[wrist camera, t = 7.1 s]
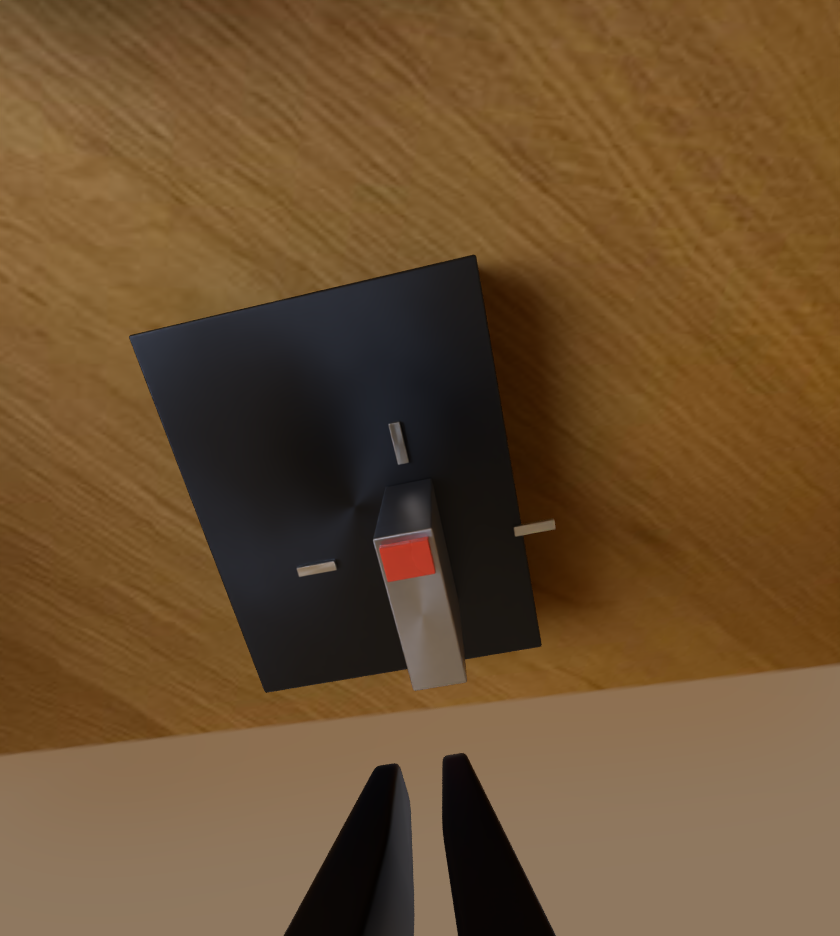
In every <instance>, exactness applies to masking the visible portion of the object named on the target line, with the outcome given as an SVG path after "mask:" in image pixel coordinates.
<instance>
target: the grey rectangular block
mask: <svg viewBox="0 0 840 936" xmlns="http://www.w3.org/2000/svg"><path fill="white" fill-rule="evenodd" d="M373 542H374V546H375V550H376V553H377V557H378V561H379V565H380V568H381V572H382V576H383V579H384V583H385V587H386V590H387V594H388V598H389V602H390V605H391V609H392V613H393V616H394V620H395V624H396V627H397V631H398V635H399V639H400V642H401V646H402V650H403V653H404V657H405V661H406V664H407V668H408V672H409V675H410V679H411V683H412V687H413V689H414V690H415V691H416V690H422V689H428V688H434V687H440V686H447V685H453V684H459V683H465V682H467V675H466V665H465V655H464V645H463V636H462V626H461V616H460V606H459V600H458V596H457V591H456V587H455V582H454V578H453V573H452V569H451V564H450V560H449V555H448V551H447V546H446V542H445V537H444V533H443V528H442V524H441V519H440V515H439V510H438V506H437V501H436V497H435V492H434V488H433V483H432V479H425V480H420V481H415V482H410V483H405V484H400V485H395V486H390V487H386V488H385V492H384V496H383V500H382V505H381V509H380V513H379V517H378V521H377V525H376V529H375V534H374V538H373Z"/></svg>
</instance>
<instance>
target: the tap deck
mask: <svg viewBox="0 0 840 936" xmlns="http://www.w3.org/2000/svg"><path fill="white" fill-rule="evenodd" d="M129 338H130V341H131V344H132V346H133V349H134V352H135V354H136V357H137V359H138V362H139V365H140V367H141V370H142V372H143V375H144V378H145V380H146V383H147V385H148V388H149V391H150V393H151V396H152V399H153V401H154V404H155V406H156V409H157V412H158V414H159V417H160V419H161V422H162V425H163V427H164V430H165V432H166V435H167V438H168V440H169V443H170V446H171V448H172V451H173V453H174V456H175V459H176V461H177V464H178V466H179V469H180V472H181V474H182V477H183V479H184V482H185V485H186V487H187V490H188V493H189V495H190V498H191V500H192V503H193V506H194V508H195V511H196V513H197V516H198V519H199V521H200V524H201V526H202V529H203V532H204V534H205V537H206V540H207V542H208V545H209V547H210V550H211V553H212V555H213V558H214V560H215V563H216V566H217V568H218V571H219V574H220V576H221V579H222V581H223V584H224V587H225V589H226V592H227V594H228V597H229V600H230V602H231V605H232V607H233V610H234V613H235V615H236V618H237V621H238V623H239V626H240V628H241V631H242V634H243V636H244V639H245V641H246V644H247V647H248V649H249V652H250V654H251V657H252V660H253V662H254V665H255V668H256V670H257V673H258V675H259V678H260V681H261V683H262V686H263V688H264V691H265V692H266V693H267V692H273V691H279V690H285V689H291V688H297V687H303V686H309V685H315V684H321V683H327V682H333V681H339V680H344V679H350V678H356V677H362V676H368V675H374V674H380V673H386V672H392V671H398V670H404V669H408V668H407V664H406V661H405V657H404V653H403V650H402V646H401V642H400V639H399V635H398V631H397V627H396V624H395V620H394V616H393V613H392V609H391V605H390V602H389V598H388V594H387V590H386V587H385V583H384V579H383V576H382V572H381V568H380V565H379V561H378V557H377V553H376V550H375V546H374V542H373V538H374V534H375V529H376V525H377V521H378V517H379V513H380V509H381V505H382V500H383V496H384V492H385V488H386V487H390V486H395V485H400V484H405V483H410V482H415V481H420V480H425V479H432V483H433V488H434V492H435V497H436V501H437V506H438V510H439V515H440V519H441V524H442V528H443V533H444V537H445V542H446V546H447V551H448V555H449V560H450V564H451V569H452V573H453V578H454V582H455V587H456V591H457V596H458V600H459V606H460V616H461V626H462V636H463V645H464V655H465V659H470V658H476V657H482V656H488V655H494V654H499V653H505V652H511V651H517V650H523V649H529V648H535V647H540V646H541V645H542V644H541V638H540V632H539V626H538V620H537V614H536V608H535V602H534V597H533V591H532V585H531V579H530V573H529V567H528V561H527V555H526V549H525V543H524V537H523V535H527V534H532V533H537V532H543V531H548V530H553V529H556V528H555V521H554V519H553V518H552V519H546V520H541V521H536V522H530V523H525V524H521V519H520V513H519V507H518V501H517V496H516V490H515V484H514V478H513V472H512V466H511V460H510V454H509V448H508V442H507V436H506V430H505V424H504V418H503V412H502V406H501V400H500V395H499V389H498V383H497V377H496V371H495V365H494V359H493V353H492V347H491V341H490V335H489V329H488V323H487V317H486V311H485V305H484V299H483V293H482V288H481V282H480V276H479V270H478V264H477V258H476V255H470V256H466V257H462V258H457V259H453V260H449V261H444V262H440V263H436V264H432V265H427V266H423V267H419V268H415V269H410V270H406V271H402V272H398V273H393V274H389V275H385V276H381V277H376V278H372V279H368V280H364V281H359V282H355V283H351V284H346V285H342V286H338V287H334V288H329V289H325V290H321V291H317V292H312V293H308V294H304V295H300V296H295V297H291V298H287V299H283V300H278V301H274V302H270V303H266V304H261V305H257V306H253V307H248V308H244V309H240V310H236V311H231V312H227V313H223V314H219V315H214V316H210V317H206V318H202V319H197V320H193V321H189V322H185V323H180V324H176V325H172V326H168V327H163V328H159V329H155V330H150V331H146V332H142V333H138V334H133V335H130V336H129Z"/></svg>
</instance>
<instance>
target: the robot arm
mask: <svg viewBox="0 0 840 936" xmlns="http://www.w3.org/2000/svg"><path fill="white" fill-rule="evenodd" d="M442 776H443V777H442V784H443V785H442V824H443V837H444V845H445V851H446V858H447V865H448V872H449V878H450V884H451V891H452V898H453V905H454V911H455V918H456V925H457V931H458V936H556V935H555V933H554V931H553V929H552V927H551V925H550V923H549V921H548V919H547V917H546V915H545V913H544V911H543V909H542V907H541V905H540V903H539V901H538V899H537V897H536V895H535V893H534V891H533V888H532V887H531V884H530V882H529V880H528V878H527V876H526V874H525V872H524V870H523V868H522V866H521V864H520V862H519V860H518V858H517V856H516V854H515V852H514V850H513V848H512V846H511V845H510V842H509V840H508V838H507V836H506V834H505V832H504V830H503V828H502V826H501V824H500V822H499V820H498V818H497V816H496V814H495V812H494V810H493V808H492V806H491V804H490V802H489V800H488V798H487V796H486V794H485V792H484V790H483V788H482V785H481V783H480V781H479V779H478V777H477V776H476V774H475V771H474V770H473V768H472V765H471V763H470V761H469V759H468V757H467V756H466V755H465V754H464V753H459V754H453V755H447V756H445V757H444V758H443V768H442ZM412 858H413V857H412V831H411V809H410V800H409V796H408V792H407V789H406V785H405V782H404V779H403V775H402V772H401V769H400V767H399V765H398V764H395V763H394V764H387V765H381V766H377V767H376V768H375V769H374V771H373V772H372V774H371V776H370V778H369V780H368V782H367V783H366V785H365V787H364V789H363V791H362V793H361V794H360V796H359V798H358V800H357V802H356V804H355V805H354V807H353V809H352V811H351V813H350V815H349V816H348V818H347V820H346V822H345V824H344V826H343V828H342V829H341V831H340V833H339V835H338V837H337V838H336V841H335V842H334V844H333V846H332V848H331V850H330V851H329V853H328V855H327V857H326V859H325V861H324V863H323V864H322V866H321V868H320V870H319V872H318V873H317V875H316V877H315V879H314V881H313V883H312V885H311V886H310V888H309V890H308V892H307V894H306V896H305V897H304V899H303V901H302V903H301V905H300V906H299V908H298V910H297V912H296V914H295V916H294V918H293V919H292V922H291V923H290V925H289V927H288V929H287V930H286V932H285V934H284V936H414V885H413V859H412Z"/></svg>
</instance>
